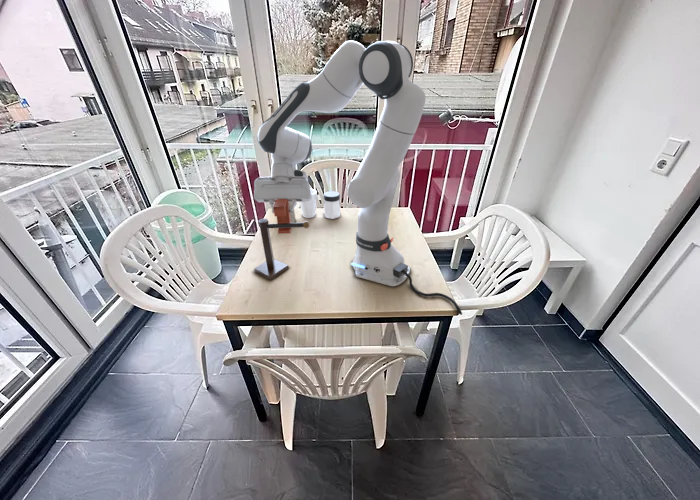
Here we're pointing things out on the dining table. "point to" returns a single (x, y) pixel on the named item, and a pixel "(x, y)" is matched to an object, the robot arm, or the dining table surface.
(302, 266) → the dining table surface
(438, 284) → the dining table surface
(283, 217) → the hook block
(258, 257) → the dining table surface
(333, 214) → the jar
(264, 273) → the peg stand
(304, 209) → the foam cup
